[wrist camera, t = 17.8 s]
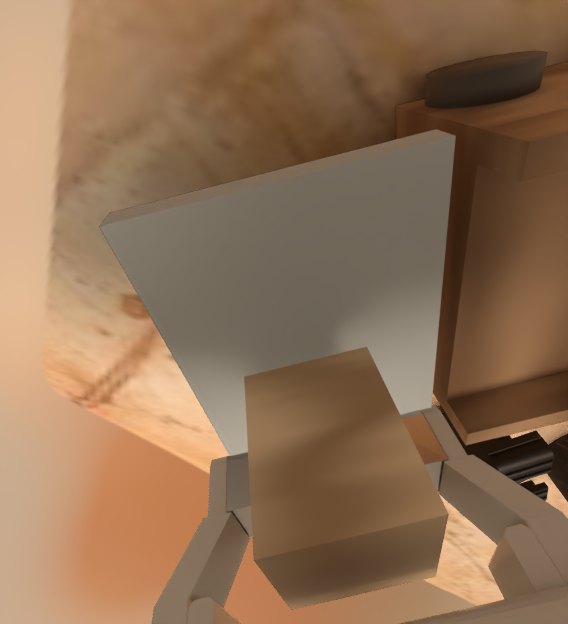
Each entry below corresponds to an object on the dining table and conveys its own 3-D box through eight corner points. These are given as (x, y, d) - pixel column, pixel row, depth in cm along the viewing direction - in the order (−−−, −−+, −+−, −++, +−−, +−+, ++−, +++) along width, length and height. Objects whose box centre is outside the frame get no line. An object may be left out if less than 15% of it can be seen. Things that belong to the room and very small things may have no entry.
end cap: (417, 412, 30) (459, 490, 24) (499, 382, 29) (562, 457, 23) (432, 464, 36) (469, 537, 30) (500, 441, 35) (551, 512, 29)
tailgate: (455, 135, 10) (99, 226, 10) (430, 415, 19) (233, 462, 19) (427, 126, 12) (114, 206, 12) (415, 390, 20) (233, 434, 20)
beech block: (367, 346, 11) (448, 514, 7) (372, 420, 13) (435, 576, 9) (244, 376, 11) (253, 560, 7) (272, 444, 13) (291, 610, 9)
